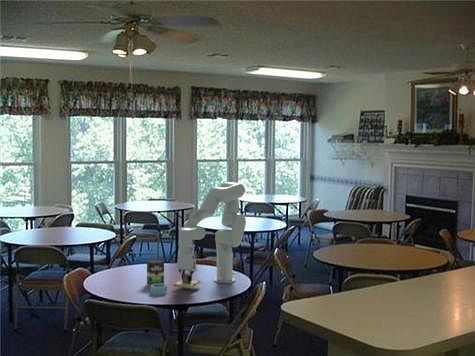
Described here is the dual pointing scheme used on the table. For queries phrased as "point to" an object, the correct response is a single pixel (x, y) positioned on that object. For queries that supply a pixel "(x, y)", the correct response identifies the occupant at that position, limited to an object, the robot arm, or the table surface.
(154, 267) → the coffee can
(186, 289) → the mat
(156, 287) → the bowl
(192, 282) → the lid
